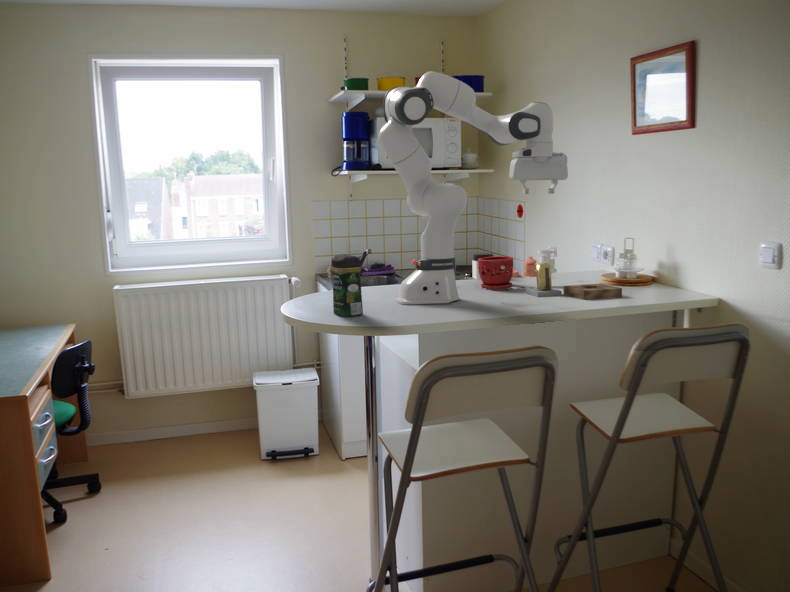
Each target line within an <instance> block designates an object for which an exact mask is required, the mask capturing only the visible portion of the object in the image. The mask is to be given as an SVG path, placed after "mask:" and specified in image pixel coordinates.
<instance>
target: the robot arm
mask: <svg viewBox="0 0 790 592" xmlns="http://www.w3.org/2000/svg"><path fill="white" fill-rule="evenodd" d="M417 82H418V83H417V84H416V86H414V87H410V86H403V85H401V86H399V85H398V86H394V87H392V88H390V89H389V90H388V91H387V92H386V93H385V95H384V97H383V102H382V104H383V106H382V107H383V115H384V121H385V124H384V125H383V126H382V127H381V128H380V130H379V132H378V140H379V143H380V145H381V147H382V149H383V152H384V153H385V155H386V157H387V159H388V161H389V162H390V164H392V166H393V168H394V170H395V171H396V173H397V174H398V175H399V177H400V179H401V180H402V182H403V185H404V186H405V189H406V192H407V197H406V204H407V207H408V209H409V211H411V213H413V214H415V215H417V216H421V217H424V218H427V217H428V220H427V225H426V227H425V230H424V231H422V233H421V236H420V258H419V259H412V261H411V265H412V266H415V270H414V271H413V272H412V273H411V274H410V275H409V276H407V277H406V278H405V279H403V280H402V282H401V283H400V286H399V292H398V294H399V295H396V296H394V297H393V298H392V300H393V301H394V302H395V303H396V302H397V303H396V304H400V305H423V304H424V305H425V304H426V305H428V304H430V305H431V304H449V303H451V302H453V301H454V302H455V301H458V300H460V296H459V293H458V289H457V288H458V287H457V283H456V282H457V281H456V276H455V274H456V271H457V269H456V268H457V265H456V257H455V255H454V254H455V253H454V252H455V251H454V250H455V247H454V243H455V242H454V241H455V230H456V228H457V223H458V220H459V218H460V215H462V213H463V211H465V210H466V207H467V204H468V195H467V193H466V190H465V189H464V188H463V187H462V186H461V185H458V184H454V183H450V182H442V183H438V182H436V181H435V179H434V178H433V175H432V172H431V171H432V168H433V163H432V160H431V159H430V158H429V156H428V154H427V153H426V151H425V150H424V148H423V147H422V145H421V143H420V142H419V140H418V139H417V137H415V133H414V130H413V126H415V125H419V124H420V123H422V122H423V121H424V120H425V119H426V118H427V116H428V115H429V113H430V112H431V110H433V109H434V110H437V111H439V112H441V113H443V114H445V115H447V116H450V117H451V118H455V119H457V120H460V121H462V122H463V123H465V124H467V125H470V126H471V127H473V128H474V129H477V130H479V131H481V132H483V133H484V134H485V135H486V136H487V137H488V138H489V139H490V140H491V142H492V143H493V144H495V145H497V146H507V145H511V144H514V143H519V142H524V141H525V147H523V148H521V149H519V150H515V151H513V152H512V154H511V156H512V159H511V162H510V165H509V175H508V176H509V179H510V180H511V181H519V185H520V186H521V188H522V194H523V195H528V194H529V193H530V192H529V191H530V188H527V186H526V183H527V181H550V183H551V186H550V188H547V189H548V190H547V191H548V192H547V194H548V195H549V194H553V195H554V194H555V188H556V187H557V185H558V184H559V181H566V180H567V179H568V176H569V172H568V171H569V170H568V156H567V155H566V153H564V152H553V151H554V150H553V142H554V141H553V138H552V137H553V131H554V115H553V114H554V113H553V110H552V107H551V106H550V104H548V103H545V102H541V101H540V102H539V101H537V102H536V101H535V102H530V103H529V104H528V105H526V106H525V107H524V108H522V109H519V110H518V111H514V112H511V113H507V114H504V115H494V114H492V113H489V112H488V111H486V110H484V109H482V108H480V107H479V106H477V105H476V102H477V99H476V98H477V97H476V93H475V90H474V89H473V88H472V87H471V86H470V85H468V83H465V82H463V81H462V80H459V79H457V78H455V77H453V76H450V75H447V74H444V73H441V72H437V71H433V70H432V71H431V70H429V71H427V72H425V73H424V74H423V75H422V76H421V77H420V78H419V80H418V81H417Z"/></svg>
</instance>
